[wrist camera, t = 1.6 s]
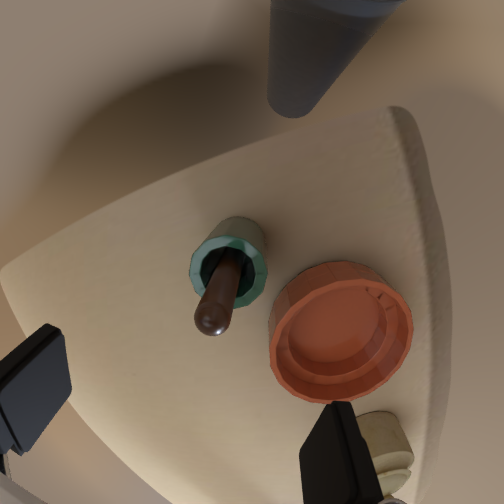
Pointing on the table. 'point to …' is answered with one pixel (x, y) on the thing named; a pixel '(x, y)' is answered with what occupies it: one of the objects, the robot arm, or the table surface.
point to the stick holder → (240, 237)
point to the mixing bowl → (338, 333)
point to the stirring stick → (220, 294)
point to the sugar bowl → (387, 450)
